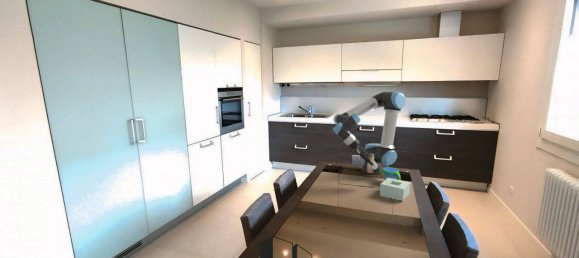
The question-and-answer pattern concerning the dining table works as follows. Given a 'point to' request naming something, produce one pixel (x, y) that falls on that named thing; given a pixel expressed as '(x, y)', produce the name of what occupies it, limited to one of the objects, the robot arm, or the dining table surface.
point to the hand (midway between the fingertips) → (376, 167)
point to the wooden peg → (369, 168)
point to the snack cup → (390, 173)
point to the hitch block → (394, 189)
